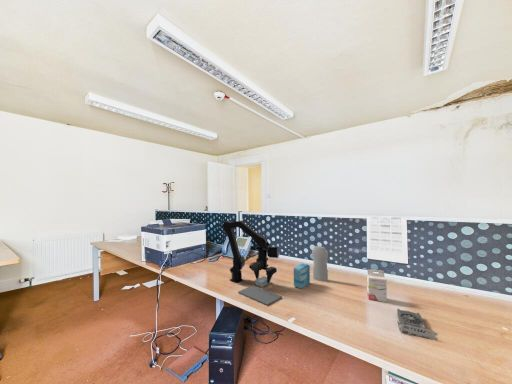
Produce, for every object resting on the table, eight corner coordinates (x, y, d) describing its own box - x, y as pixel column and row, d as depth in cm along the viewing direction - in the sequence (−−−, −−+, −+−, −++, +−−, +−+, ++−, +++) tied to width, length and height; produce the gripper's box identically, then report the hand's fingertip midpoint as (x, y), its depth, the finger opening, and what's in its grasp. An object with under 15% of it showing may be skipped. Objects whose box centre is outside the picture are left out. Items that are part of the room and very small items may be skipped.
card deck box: (255, 284, 137) (254, 279, 137) (263, 280, 144) (263, 276, 144) (261, 287, 134) (261, 282, 134) (270, 283, 140) (270, 278, 140)
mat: (238, 293, 125) (238, 291, 125) (252, 286, 134) (252, 285, 134) (267, 306, 110) (267, 304, 110) (281, 297, 118) (281, 296, 118)
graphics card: (438, 333, 82) (400, 324, 87) (438, 344, 82) (400, 334, 87) (427, 312, 97) (395, 306, 102) (427, 321, 97) (395, 314, 102)
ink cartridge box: (368, 299, 115) (368, 271, 116) (367, 295, 120) (366, 268, 120) (387, 302, 112) (386, 273, 113) (385, 298, 117) (384, 270, 117)
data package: (300, 289, 129) (299, 269, 129) (293, 287, 132) (293, 267, 132) (310, 283, 138) (309, 264, 138) (303, 281, 141) (303, 262, 141)
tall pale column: (311, 278, 145) (310, 245, 146) (313, 277, 149) (313, 244, 149) (327, 282, 139) (326, 247, 140) (329, 280, 143) (328, 246, 143)
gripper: (243, 256, 140) (243, 281, 139) (265, 262, 127) (265, 289, 126) (255, 253, 148) (255, 276, 147) (277, 258, 135) (277, 284, 134)
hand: (262, 281), depth 139 cm, fingers open, 9 cm apart
